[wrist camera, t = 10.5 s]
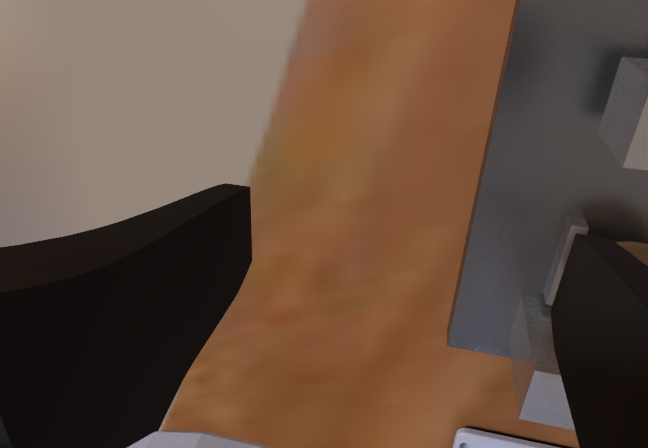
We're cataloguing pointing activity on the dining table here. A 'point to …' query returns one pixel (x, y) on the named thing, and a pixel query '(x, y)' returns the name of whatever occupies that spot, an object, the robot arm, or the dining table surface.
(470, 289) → the bench
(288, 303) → the dining table surface
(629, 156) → the ram handle
